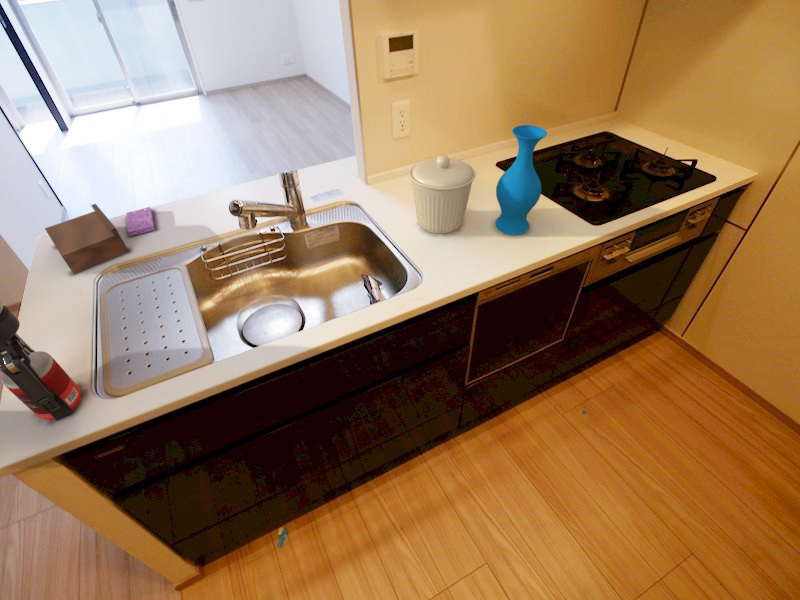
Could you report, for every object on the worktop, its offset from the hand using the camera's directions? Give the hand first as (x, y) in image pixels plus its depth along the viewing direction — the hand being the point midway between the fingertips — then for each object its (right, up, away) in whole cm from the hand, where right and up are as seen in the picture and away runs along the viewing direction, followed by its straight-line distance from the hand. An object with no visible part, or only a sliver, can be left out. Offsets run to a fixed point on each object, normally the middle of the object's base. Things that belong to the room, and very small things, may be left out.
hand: (58, 401), depth 82 cm
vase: (+99, +41, +44) cm, 116 cm away
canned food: (0, -1, +1) cm, 1 cm away
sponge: (-13, +43, +48) cm, 66 cm away
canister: (+78, +42, +45) cm, 99 cm away
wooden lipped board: (-21, +34, +39) cm, 56 cm away
